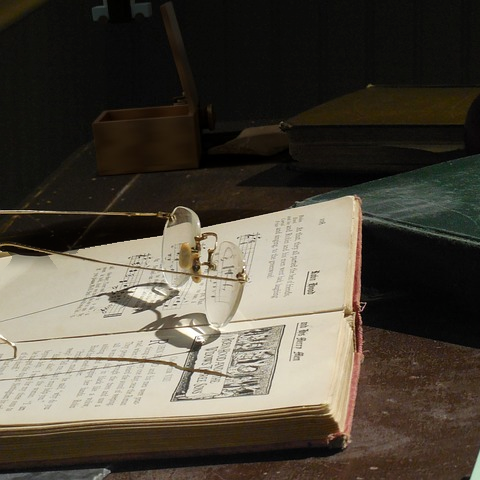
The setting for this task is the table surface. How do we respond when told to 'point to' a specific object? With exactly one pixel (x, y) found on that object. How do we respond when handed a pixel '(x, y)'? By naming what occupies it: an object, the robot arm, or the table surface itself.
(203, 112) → the camera
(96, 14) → the car
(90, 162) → the table surface
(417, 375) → the table surface
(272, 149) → the stone
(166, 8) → the lid
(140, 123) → the chest
